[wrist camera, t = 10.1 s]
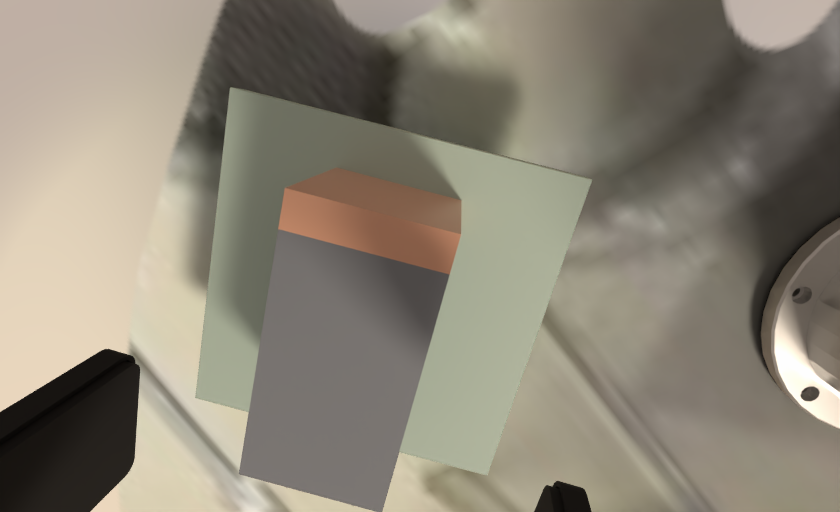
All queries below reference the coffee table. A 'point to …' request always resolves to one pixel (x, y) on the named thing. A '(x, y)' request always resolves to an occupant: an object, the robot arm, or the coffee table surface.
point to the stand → (468, 281)
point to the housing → (346, 332)
